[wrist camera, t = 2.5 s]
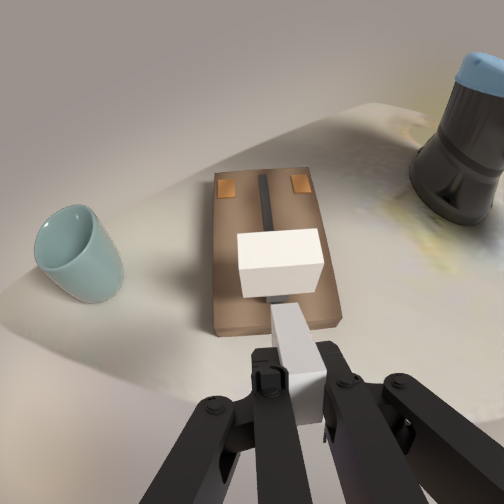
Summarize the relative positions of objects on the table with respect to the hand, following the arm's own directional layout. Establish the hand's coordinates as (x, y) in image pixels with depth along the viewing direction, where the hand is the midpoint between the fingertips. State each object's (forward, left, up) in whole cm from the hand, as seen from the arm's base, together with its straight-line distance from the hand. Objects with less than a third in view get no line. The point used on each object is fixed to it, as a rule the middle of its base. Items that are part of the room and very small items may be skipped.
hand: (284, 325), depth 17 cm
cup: (+19, -10, -14) cm, 26 cm away
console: (0, -13, -13) cm, 19 cm away
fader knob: (0, -6, -10) cm, 12 cm away
